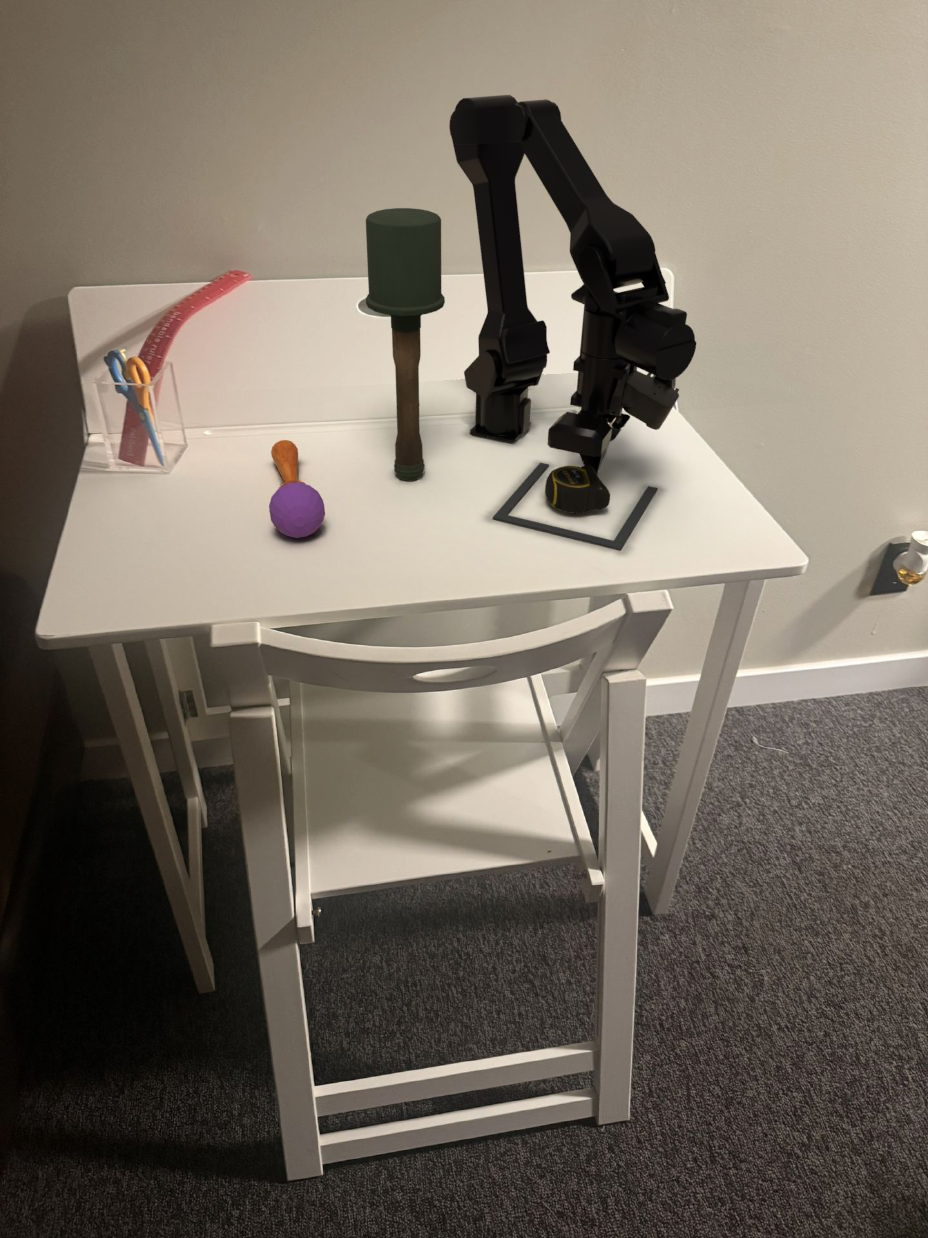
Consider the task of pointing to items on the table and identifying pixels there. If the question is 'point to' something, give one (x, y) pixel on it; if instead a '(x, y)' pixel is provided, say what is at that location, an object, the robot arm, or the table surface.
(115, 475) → the table surface
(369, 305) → the potato masher grenade
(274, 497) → the purple maraca
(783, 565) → the table surface
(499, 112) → the robot arm
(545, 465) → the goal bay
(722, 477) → the table surface
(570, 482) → the tape measure
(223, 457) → the table surface
